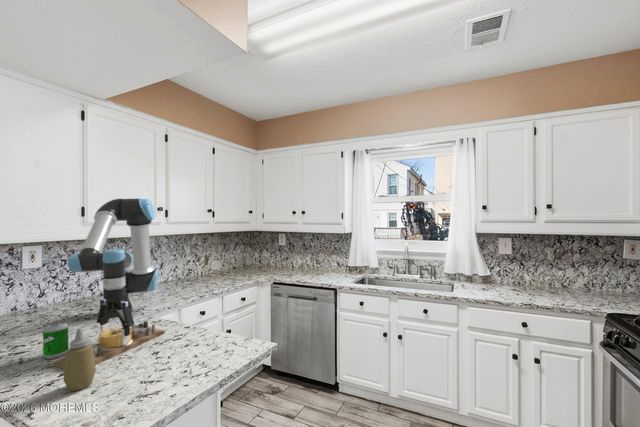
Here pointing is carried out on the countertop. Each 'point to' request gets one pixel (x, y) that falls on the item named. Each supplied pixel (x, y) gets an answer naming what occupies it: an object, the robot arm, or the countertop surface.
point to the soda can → (55, 340)
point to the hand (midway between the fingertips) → (115, 341)
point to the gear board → (139, 336)
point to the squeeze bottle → (79, 363)
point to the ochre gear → (112, 338)
